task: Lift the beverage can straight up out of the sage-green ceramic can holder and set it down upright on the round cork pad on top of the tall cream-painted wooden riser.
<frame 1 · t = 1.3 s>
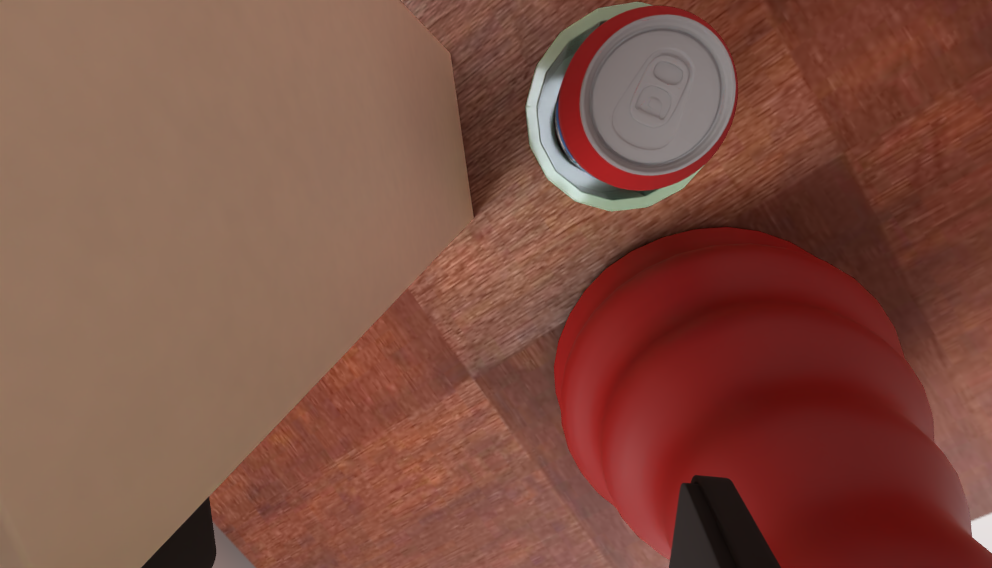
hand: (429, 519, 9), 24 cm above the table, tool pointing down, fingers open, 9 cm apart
table lamp: (699, 368, 33), on the table, touching gripper
beverage can: (609, 118, 29), resting on can holder
can holder: (608, 118, 29), on the table
riser: (386, 150, 31), on the table
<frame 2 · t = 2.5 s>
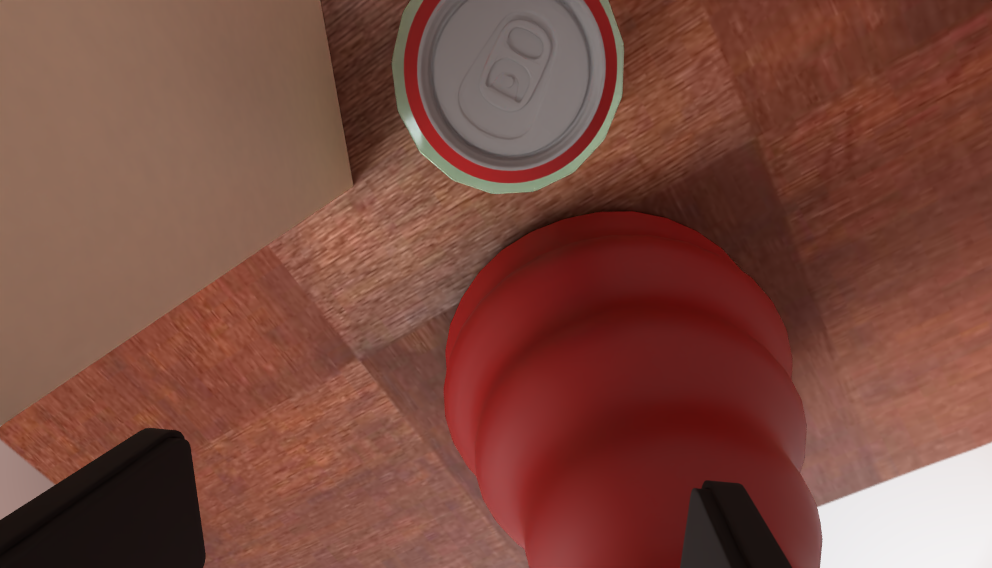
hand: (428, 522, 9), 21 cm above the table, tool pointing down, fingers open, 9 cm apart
table lamp: (598, 355, 31), on the table
beverage can: (506, 80, 25), resting on can holder
can holder: (506, 80, 25), on the table
riser: (244, 98, 26), on the table
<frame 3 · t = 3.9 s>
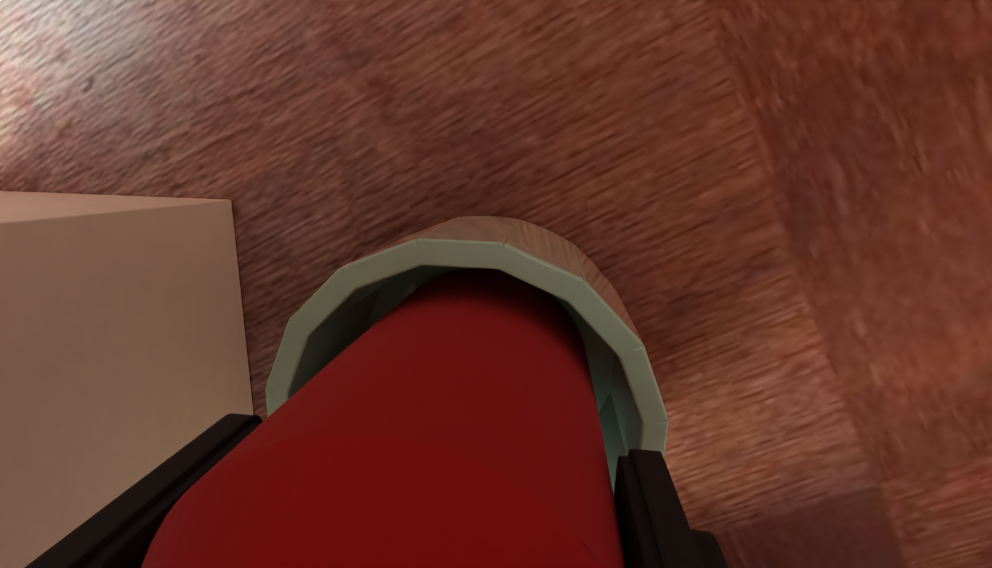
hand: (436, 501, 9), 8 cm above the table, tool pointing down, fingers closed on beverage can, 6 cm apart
beverage can: (486, 357, 16), resting on can holder, touching gripper
can holder: (487, 353, 17), on the table
riser: (122, 328, 18), on the table
when the fingers open (36 cm above the table, at t = 11.4 s): beverage can stays where it is, resting on cork pad.
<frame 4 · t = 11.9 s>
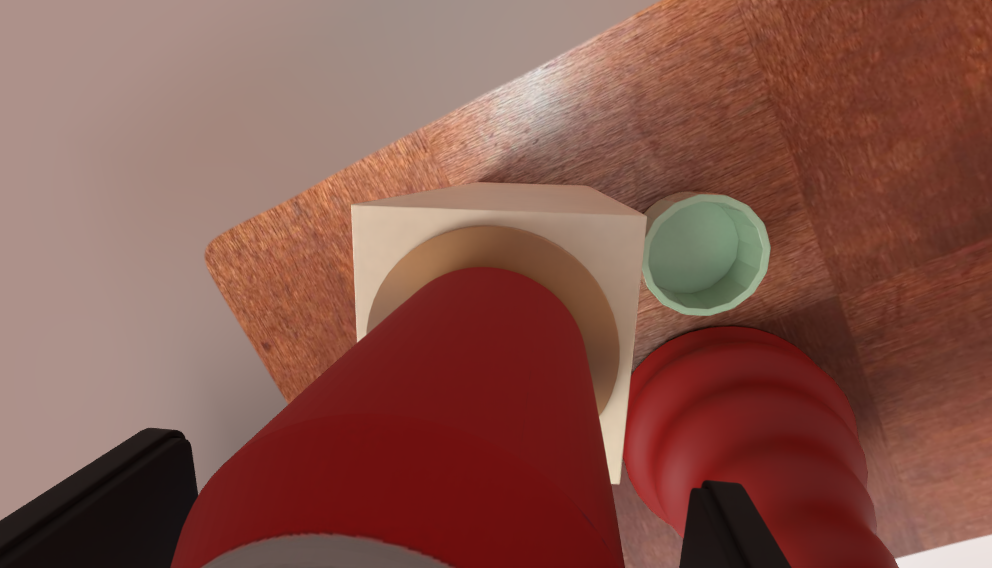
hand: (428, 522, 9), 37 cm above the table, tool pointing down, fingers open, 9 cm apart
cork pad: (490, 350, 17), resting on riser
table lamp: (718, 420, 46), on the table
beverage can: (489, 353, 17), point 28 cm above the table, touching cork pad
can holder: (685, 245, 43), on the table
riser: (529, 238, 44), on the table
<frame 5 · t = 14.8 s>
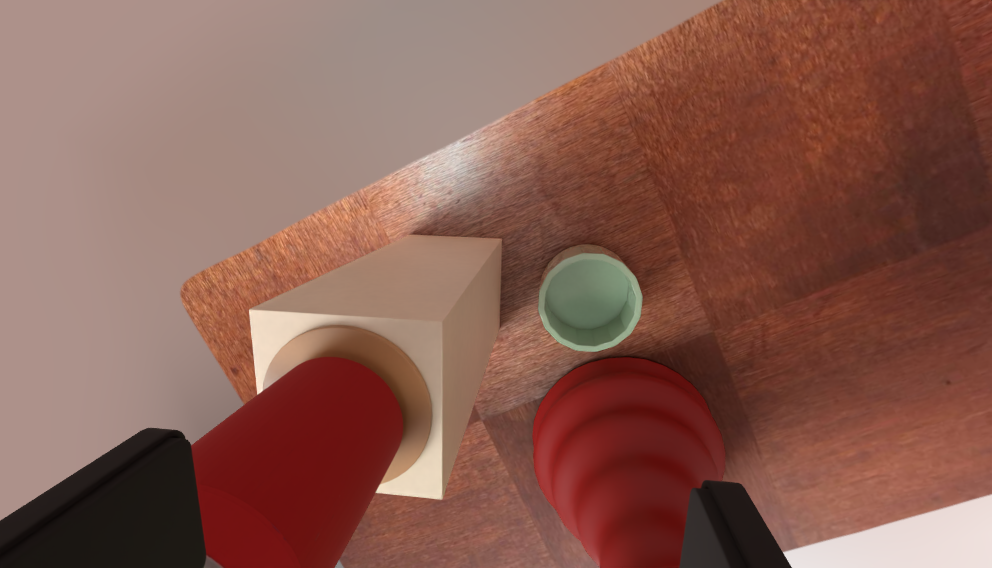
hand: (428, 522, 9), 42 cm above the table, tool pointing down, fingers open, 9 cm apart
cork pad: (348, 407, 25), resting on riser
table lamp: (620, 436, 54), on the table
beverage can: (346, 409, 25), point 28 cm above the table, touching cork pad
can holder: (585, 289, 50), on the table
riser: (455, 282, 52), on the table
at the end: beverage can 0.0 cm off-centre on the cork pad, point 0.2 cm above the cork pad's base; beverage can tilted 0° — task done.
